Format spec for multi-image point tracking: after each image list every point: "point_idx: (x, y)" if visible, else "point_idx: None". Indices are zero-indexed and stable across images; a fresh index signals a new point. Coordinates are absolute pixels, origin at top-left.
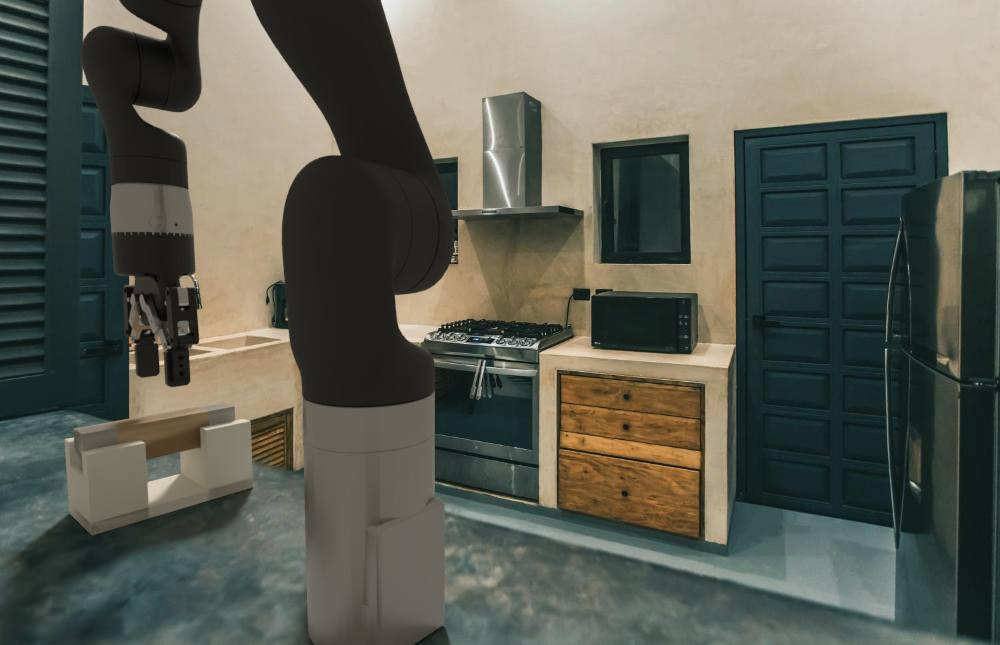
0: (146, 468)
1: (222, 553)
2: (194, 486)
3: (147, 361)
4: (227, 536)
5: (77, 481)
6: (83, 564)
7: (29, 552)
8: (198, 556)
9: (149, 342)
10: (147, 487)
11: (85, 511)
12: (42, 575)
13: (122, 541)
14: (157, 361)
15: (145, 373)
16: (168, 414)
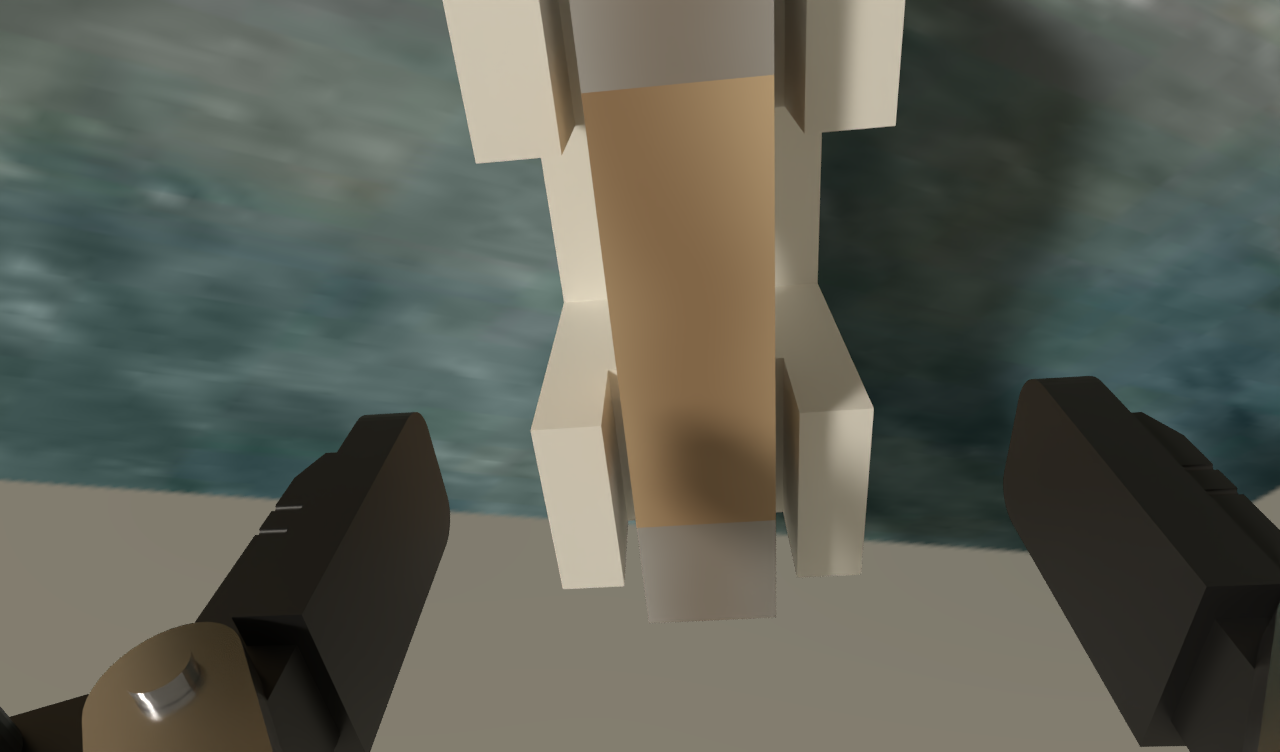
0: (846, 349)
1: (1262, 177)
2: None
3: (401, 559)
4: (1172, 122)
5: None
6: (967, 441)
7: None
8: (1206, 234)
9: (304, 692)
10: (830, 314)
11: None
12: (944, 502)
13: (913, 355)
14: (382, 486)
15: (437, 504)
16: (678, 295)
